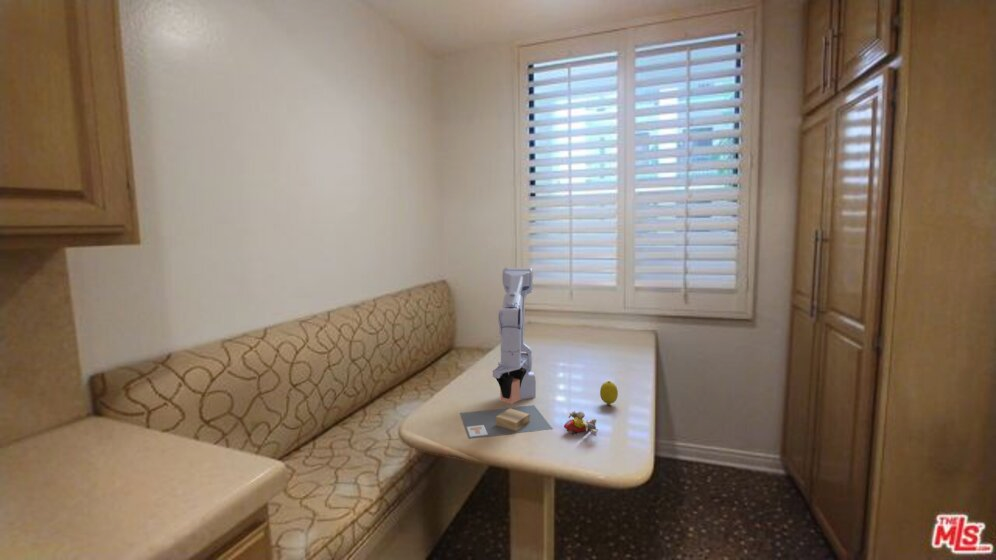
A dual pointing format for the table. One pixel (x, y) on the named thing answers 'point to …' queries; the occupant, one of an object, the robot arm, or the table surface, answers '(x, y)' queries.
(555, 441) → the table surface
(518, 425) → the slab
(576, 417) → the toy airplane
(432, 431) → the table surface
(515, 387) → the pillar
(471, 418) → the board
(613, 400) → the lemon
